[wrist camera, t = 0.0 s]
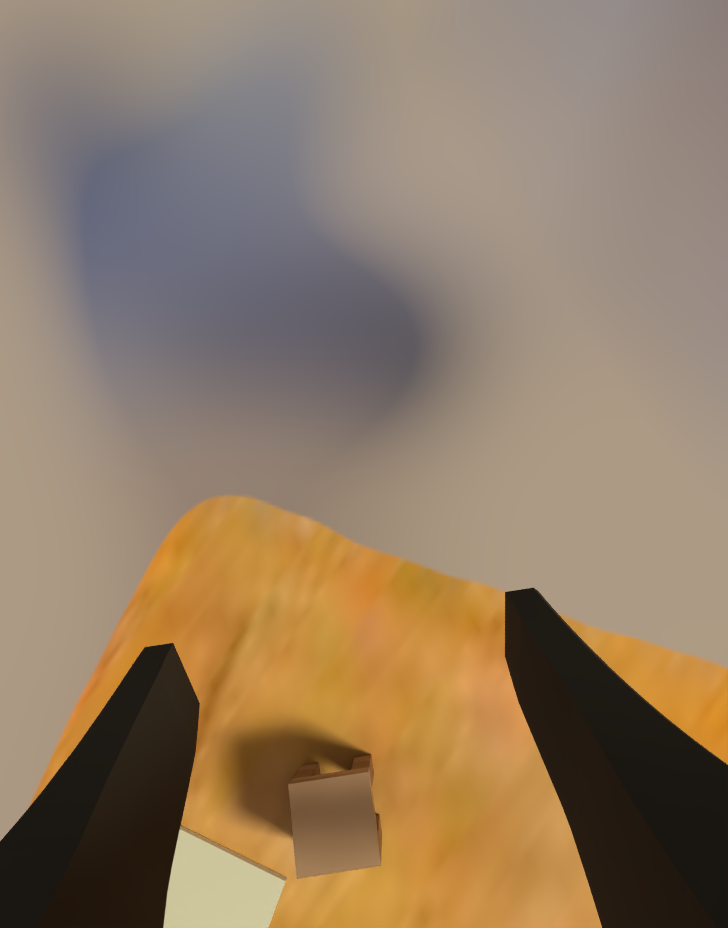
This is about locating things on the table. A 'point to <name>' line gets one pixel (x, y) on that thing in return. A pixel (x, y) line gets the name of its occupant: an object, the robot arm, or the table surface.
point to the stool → (334, 819)
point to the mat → (218, 887)
